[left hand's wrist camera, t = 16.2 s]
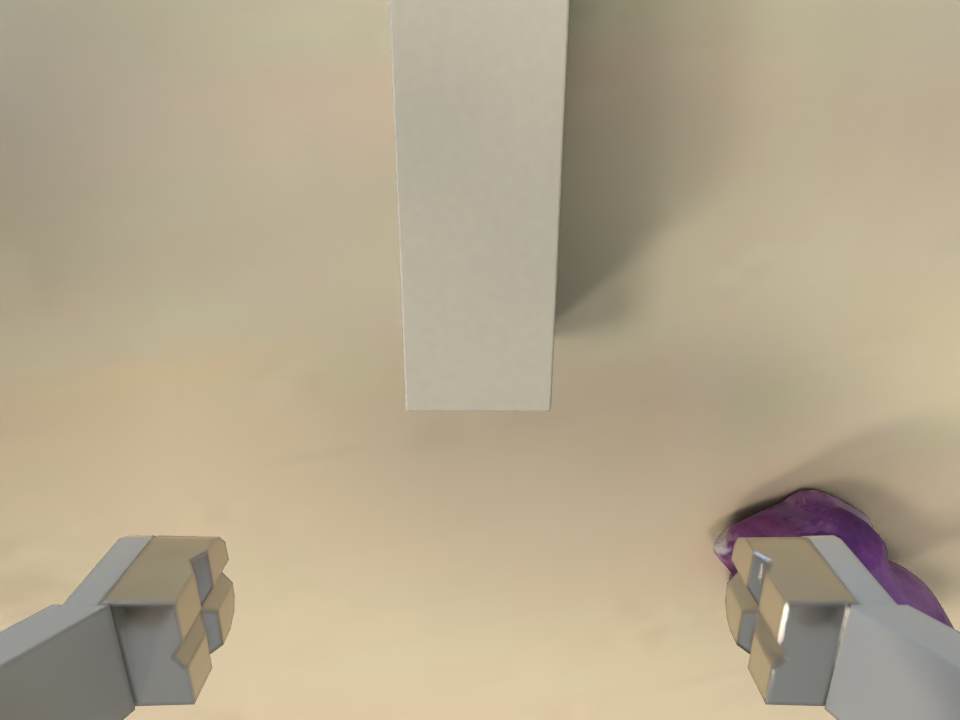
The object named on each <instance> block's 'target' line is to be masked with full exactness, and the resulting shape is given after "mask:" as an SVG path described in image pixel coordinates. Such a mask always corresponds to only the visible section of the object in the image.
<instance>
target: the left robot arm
mask: <svg viewBox="0 0 960 720" xmlns="http://www.w3.org/2000/svg"><path fill="white" fill-rule="evenodd" d="M228 560H229V558H228V553H227V548H226V543H225V541H224V540H222V539H221V538H220V537H196V536H125V537H123V538H120V539H119V540H118V541H117V542H116V543H115V544H114V545H113V546H112V547H111V549H110V550H109V551H108V552H107V553H106V554H105V556H104V557H103V558H102V559H101V560H100V561H99V563H98V564H97V565H96V566H95V567H94V568H93V570H92V571H91V572H90V573H89V574H88V575H87V577H86V578H85V579H84V580H83V581H82V582H81V584H80V585H79V586H78V587H77V588H76V589H75V591H74V592H73V593H72V594H71V595H70V596H69V598H68V599H67V600H66V601H65V602H64V603H63V605H51V606H49V607H47V608H45V609H43V610H41V611H39V612H37V613H36V614H34V615H32V616H30V617H28V618H26V619H24V620H22V621H20V622H18V623H16V624H15V625H13V626H11V627H9V628H7V629H5V630H3V631H1V632H0V720H123V719H125V718H126V717H127V716H128V715H129V714H130V713H131V712H133V711H134V710H135V706H153V705H187V704H195V702H196V700H197V698H198V696H199V694H200V692H201V689H202V687H203V685H204V683H205V681H206V679H207V677H208V675H209V673H210V671H211V669H212V664H211V658H210V654H211V653H212V652H214V651H215V650H217V649H218V648H219V647H221V646H222V645H223V644H224V642H225V640H226V638H227V635H228V633H229V631H230V628H231V624H232V619H233V614H234V597H235V595H234V589H233V582H232V581H231V580H230V579H229V578H228V577H227V576H226V575H225V574H224V573H223V572H222V571H223V569H224V567H225V565H226V563H227V562H228ZM731 560H732V562H733V563H734V565H735V567H736V569H737V571H738V572H737V573H736V574H735V575H734V576H733V577H732V578H731V579H730V580H729V581H728V582H727V590H726V598H725V603H726V615H727V621H728V624H729V628H730V631H731V633H732V636H733V638H734V640H735V642H736V644H737V645H738V646H739V647H741V648H742V649H744V650H745V651H746V652H748V653H749V654H750V658H749V664H748V669H749V671H750V673H751V675H752V677H753V679H754V681H755V683H756V685H757V687H758V689H759V691H760V693H761V695H762V698H763V700H764V702H765V704H771V705H806V706H825V710H827V711H828V712H829V713H830V714H831V715H832V716H833V717H835V718H836V719H837V720H960V632H959V631H957V630H955V629H953V628H951V627H949V626H947V625H945V624H943V623H942V622H940V621H938V620H936V619H934V618H932V617H930V616H928V615H926V614H924V613H922V612H921V611H919V610H917V609H915V608H913V607H911V606H909V605H897V603H896V602H895V601H894V600H893V599H892V598H891V597H890V595H889V594H888V593H887V592H886V591H885V590H884V588H883V587H882V586H881V585H880V584H879V583H878V581H877V580H876V579H875V578H874V577H873V576H872V574H871V573H870V572H869V571H868V570H867V569H866V567H865V566H864V565H863V564H862V563H861V562H860V560H859V559H858V558H857V557H856V556H855V555H854V553H853V552H852V551H851V550H850V549H849V548H848V546H847V545H846V544H845V543H844V542H843V541H842V539H840V538H838V537H836V536H834V535H823V536H801V537H759V538H737V540H736V542H735V544H734V547H733V552H732V558H731Z"/></svg>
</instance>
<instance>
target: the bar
mask: <svg viewBox="0 0 960 720" xmlns="http://www.w3.org/2000/svg"><path fill="white" fill-rule="evenodd" d="M389 6H390V31H391V55H392V80H393V105H394V130H395V155H396V180H397V204H398V229H399V254H400V279H401V304H402V329H403V353H404V378H405V403H406V410H408V411H550V410H551V396H552V374H553V352H554V330H555V308H556V286H557V264H558V242H559V220H560V198H561V176H562V154H563V132H564V110H565V88H566V66H567V44H568V22H569V0H389Z"/></svg>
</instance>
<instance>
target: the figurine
mask: <svg viewBox="0 0 960 720" xmlns="http://www.w3.org/2000/svg"><path fill="white" fill-rule="evenodd" d="M823 535H834V536H836V537H838V538H840V539H842V541H843V542H844V543H845V544H846V545H847V546H848V548H849V549H850V550H851V551H852V552H853V553H854V555H855V556H856V557H857V558H858V559H859V560H860V562H861V563H862V564H863V565H864V566H865V567H866V569H867V570H868V571H869V572H870V573H871V574H872V576H873V577H874V578H875V579H876V580H877V581H878V583H879V584H880V585H881V586H882V587H883V588H884V590H885V591H886V592H887V593H888V594H889V595H890V597H891V598H892V599H893V600H894V601H895V602H896V603H897V605H909V606H911V607H913V608H915V609H917V610H919V611H921V612H922V613H924V614H926V615H928V616H930V617H932V618H934V619H936V620H938V621H940V622H942V623H943V624H945V625H947V626H949V627H951V628H953V626H952V624H951V622H950V620H949V619H948V617H947V615H946V613H945V612H944V610H943V608H942V606H941V605H940V603H939V602H938V600H937V599H936V597H935V596H934V594H933V593H932V592H931V590H930V589H929V588H928V587H927V586H926V584H925V583H923V582H922V581H921V580H920V579H919V578H918V577H916V576H915V575H914V574H913V573H911V572H910V571H908V570H907V569H905V568H904V567H902V566H900V565H898V564H896V563H894V562H892V561H890V560H888V557H887V548H886V545H885V543H884V542H883V540H882V539H881V537H880V536H879V535H878V534H877V533H876V531H875V530H874V529H873V525H872V523H871V521H870V519H869V518H868V517H867V516H866V515H864V514H863V513H861V512H860V511H858V510H857V509H855V508H853V507H852V506H851V505H849V504H846V503H845V502H843V501H841V500H840V499H838V498H836V497H832V496H830V495H828V494H826V493H824V492H821V491H818V490H809V491H807V490H802V491H799V492H797V493H795V494H793V495H791V496H788V497H787V498H786V499H785V500H784V501H783V502H780V503H778V504H776V505H774V506H771V507H769V508H767V509H764V510H762V511H760V512H758V513H756V514H754V515H752V516H750V517H748V518H746V519H744V520H742V521H740V522H737V523H735V524H733V525H730V526H728V527H727V528H726V529H725V530H724V531H723V532H722V533H721V534H720V535H719V537H718V538H717V540H716V541H715V543H714V546H713V550H714V553H715V554H716V555H717V557H718V558H719V559H720V560H721V561H722V562H723V563H724V564H725V565H726V566H727V568H728V569H729V570H730V571H731V575H730V579H731V578H732V577H733V576H734V575H735V574H736V573H737V572H738V571H737V569H736V567H735V565H734V563H733V562H732V560H731V558H732V552H733V547H734V544H735V542H736V540H737V538H759V537H801V536H823ZM730 579H729V580H730ZM953 629H954V628H953Z"/></svg>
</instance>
